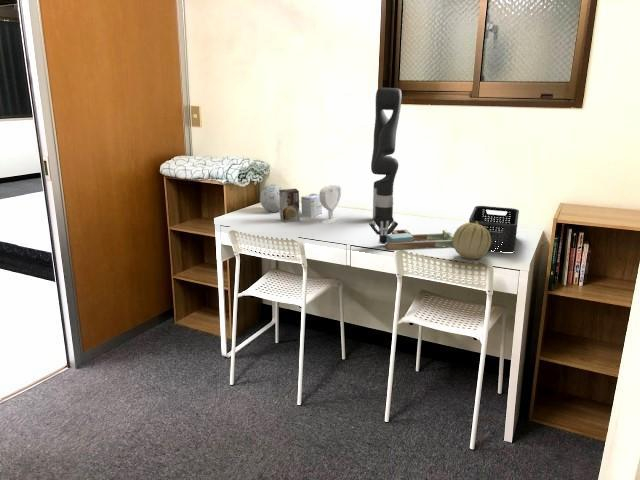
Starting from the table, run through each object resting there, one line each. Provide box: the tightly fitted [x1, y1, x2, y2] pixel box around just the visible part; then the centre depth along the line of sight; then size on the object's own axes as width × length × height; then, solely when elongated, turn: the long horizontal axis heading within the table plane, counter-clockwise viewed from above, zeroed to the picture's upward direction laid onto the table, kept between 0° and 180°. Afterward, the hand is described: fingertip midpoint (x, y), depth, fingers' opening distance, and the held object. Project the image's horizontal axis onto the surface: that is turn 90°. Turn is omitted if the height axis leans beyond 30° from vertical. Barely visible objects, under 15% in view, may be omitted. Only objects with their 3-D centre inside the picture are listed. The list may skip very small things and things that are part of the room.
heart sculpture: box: [319, 184, 342, 224], centre depth 260 cm, size 16×5×18 cm, turn 147°
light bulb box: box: [300, 193, 323, 218], centre depth 273 cm, size 11×7×11 cm, turn 144°
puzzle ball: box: [259, 184, 284, 213], centre depth 280 cm, size 15×15×15 cm
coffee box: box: [279, 188, 301, 223], centre depth 261 cm, size 9×6×16 cm
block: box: [385, 233, 414, 245], centre depth 222 cm, size 6×10×4 cm, turn 106°
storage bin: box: [468, 205, 520, 253], centre depth 223 cm, size 29×19×13 cm
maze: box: [385, 229, 454, 251], centre depth 227 cm, size 21×30×4 cm
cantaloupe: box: [452, 221, 491, 260], centre depth 203 cm, size 15×15×15 cm
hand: (382, 243), depth 221 cm, fingers closed
